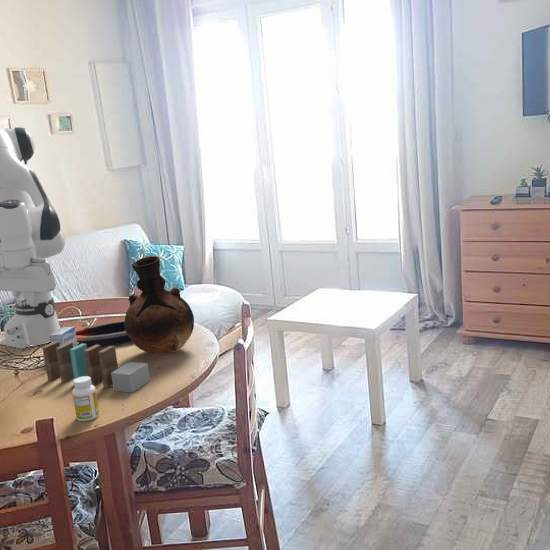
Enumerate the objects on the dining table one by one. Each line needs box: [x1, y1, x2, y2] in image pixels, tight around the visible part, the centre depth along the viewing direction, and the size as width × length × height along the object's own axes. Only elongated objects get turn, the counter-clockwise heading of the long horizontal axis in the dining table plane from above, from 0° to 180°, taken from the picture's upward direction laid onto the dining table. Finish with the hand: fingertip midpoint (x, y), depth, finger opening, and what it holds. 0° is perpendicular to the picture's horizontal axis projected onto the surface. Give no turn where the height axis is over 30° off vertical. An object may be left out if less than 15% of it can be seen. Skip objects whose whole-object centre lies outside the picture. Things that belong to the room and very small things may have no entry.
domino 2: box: [56, 342, 74, 383], centre depth 179 cm, size 2×5×10 cm, turn 156°
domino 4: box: [84, 345, 103, 387], centre depth 175 cm, size 2×5×10 cm, turn 155°
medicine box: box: [50, 326, 77, 348], centre depth 199 cm, size 8×4×9 cm, turn 168°
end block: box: [111, 361, 151, 393], centre depth 170 cm, size 6×8×5 cm
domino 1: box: [41, 341, 61, 382], centre depth 181 cm, size 2×5×10 cm, turn 155°
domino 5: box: [98, 345, 119, 388], centre depth 173 cm, size 2×5×10 cm, turn 156°
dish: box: [75, 320, 132, 348], centre depth 212 cm, size 16×31×5 cm, turn 101°
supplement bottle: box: [72, 376, 100, 422], centre depth 153 cm, size 5×5×10 cm
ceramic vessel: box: [123, 255, 195, 355], centre depth 193 cm, size 21×18×30 cm
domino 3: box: [70, 344, 88, 380], centre depth 177 cm, size 2×5×10 cm, turn 155°
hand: (28, 306), depth 180 cm, fingers open, 3 cm apart
